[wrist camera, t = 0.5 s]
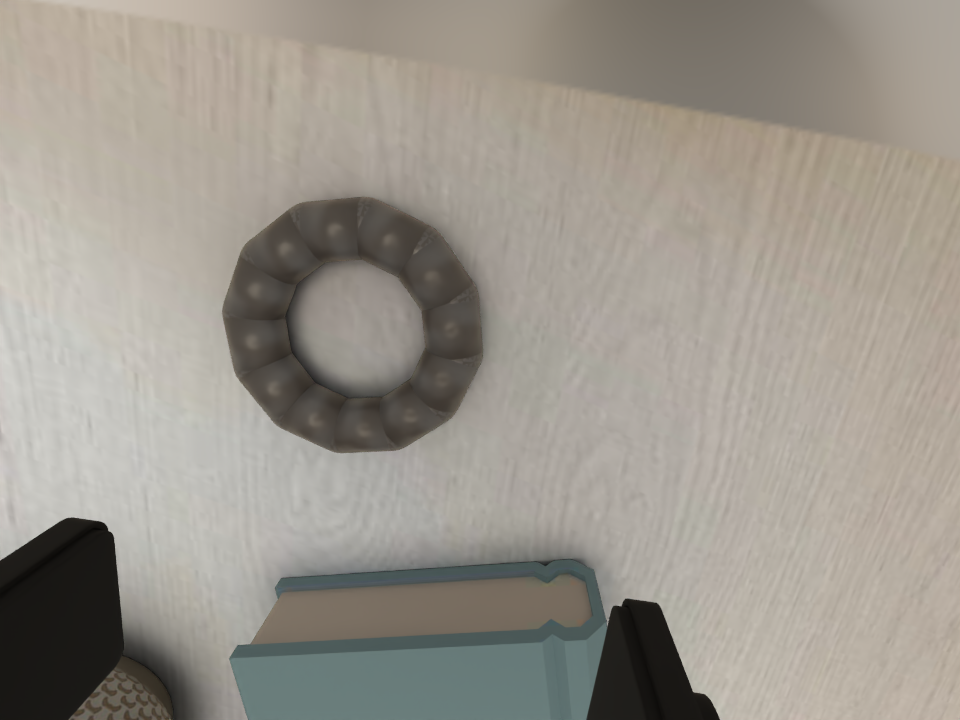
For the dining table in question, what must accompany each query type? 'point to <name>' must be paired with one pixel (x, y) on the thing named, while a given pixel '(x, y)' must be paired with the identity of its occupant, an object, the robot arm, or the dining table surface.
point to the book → (428, 645)
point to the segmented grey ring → (387, 245)
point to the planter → (127, 696)
